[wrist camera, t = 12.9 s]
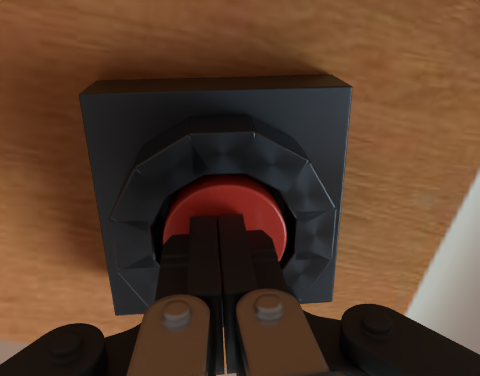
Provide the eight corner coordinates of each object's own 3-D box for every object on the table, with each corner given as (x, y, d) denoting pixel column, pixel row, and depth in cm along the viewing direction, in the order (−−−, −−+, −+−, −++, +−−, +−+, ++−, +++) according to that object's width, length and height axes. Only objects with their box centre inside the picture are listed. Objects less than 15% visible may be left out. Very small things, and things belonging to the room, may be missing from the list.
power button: (276, 258, 15) (285, 289, 13) (171, 264, 14) (167, 297, 13) (279, 160, 13) (289, 182, 12) (162, 164, 13) (157, 188, 11)
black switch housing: (317, 268, 18) (347, 337, 14) (125, 279, 17) (104, 354, 14) (332, 74, 15) (375, 98, 11) (95, 80, 14) (58, 108, 10)
